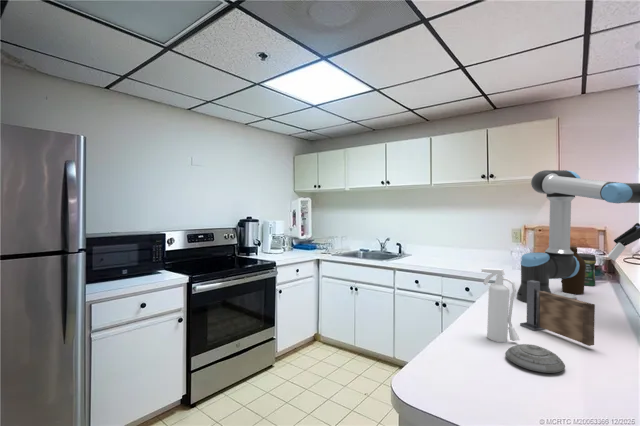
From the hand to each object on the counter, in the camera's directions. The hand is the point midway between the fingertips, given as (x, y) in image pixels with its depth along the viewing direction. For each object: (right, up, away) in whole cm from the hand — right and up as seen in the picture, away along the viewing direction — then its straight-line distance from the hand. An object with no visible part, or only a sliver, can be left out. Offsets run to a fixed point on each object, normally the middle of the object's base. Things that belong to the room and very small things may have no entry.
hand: (628, 259), depth 113 cm
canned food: (-8, -28, +19) cm, 35 cm away
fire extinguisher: (-44, -29, +2) cm, 52 cm away
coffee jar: (+51, -27, +81) cm, 99 cm away
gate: (-21, -27, +2) cm, 34 cm away
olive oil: (+30, -27, +63) cm, 75 cm away
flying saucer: (-43, -29, -15) cm, 54 cm away
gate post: (-25, -28, +13) cm, 40 cm away
